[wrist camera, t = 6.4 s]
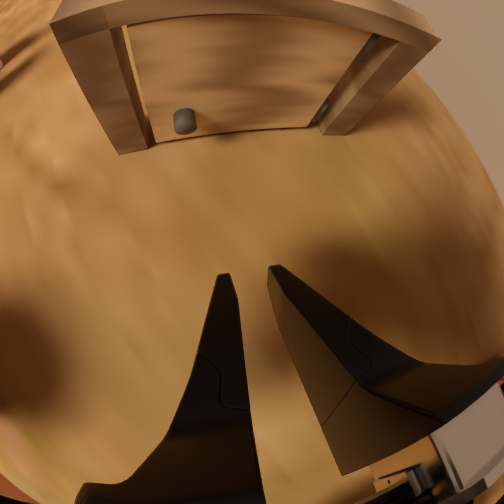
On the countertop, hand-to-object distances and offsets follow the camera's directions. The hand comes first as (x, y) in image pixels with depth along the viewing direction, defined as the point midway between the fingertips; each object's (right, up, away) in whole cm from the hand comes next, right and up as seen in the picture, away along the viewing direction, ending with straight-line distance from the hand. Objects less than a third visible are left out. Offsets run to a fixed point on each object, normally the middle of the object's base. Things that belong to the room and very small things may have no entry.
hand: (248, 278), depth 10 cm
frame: (-1, +9, +8) cm, 12 cm away
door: (-1, +9, +7) cm, 11 cm away
